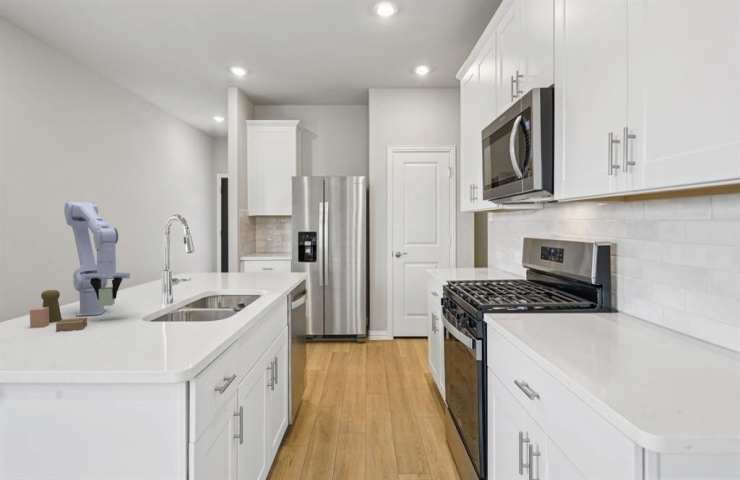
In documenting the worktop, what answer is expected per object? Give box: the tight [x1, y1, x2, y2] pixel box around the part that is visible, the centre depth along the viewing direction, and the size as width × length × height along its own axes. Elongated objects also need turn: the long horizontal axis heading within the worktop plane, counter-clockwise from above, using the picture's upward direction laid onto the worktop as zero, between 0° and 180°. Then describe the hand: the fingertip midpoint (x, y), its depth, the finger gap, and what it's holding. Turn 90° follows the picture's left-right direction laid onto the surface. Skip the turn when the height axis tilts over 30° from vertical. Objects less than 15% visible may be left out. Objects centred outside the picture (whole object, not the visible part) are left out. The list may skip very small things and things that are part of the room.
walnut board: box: [55, 316, 88, 333], centre depth 135 cm, size 7×7×3 cm
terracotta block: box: [29, 306, 50, 329], centre depth 138 cm, size 4×4×6 cm
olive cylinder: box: [40, 289, 63, 324], centre depth 145 cm, size 6×6×11 cm
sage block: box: [99, 286, 116, 307], centre depth 147 cm, size 4×4×6 cm
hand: (107, 298), depth 147 cm, fingers closed on sage block, 4 cm apart
